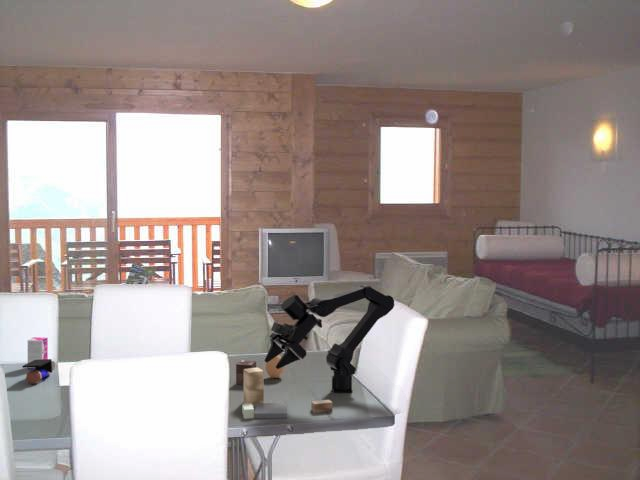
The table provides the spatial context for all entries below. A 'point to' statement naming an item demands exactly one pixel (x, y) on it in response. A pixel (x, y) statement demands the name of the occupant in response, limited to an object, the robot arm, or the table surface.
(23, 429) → the table surface
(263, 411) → the slate tile
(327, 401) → the walnut brick
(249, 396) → the oak block
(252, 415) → the sage brick
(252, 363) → the box
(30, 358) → the supplement box
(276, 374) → the egg
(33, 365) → the figurine character
